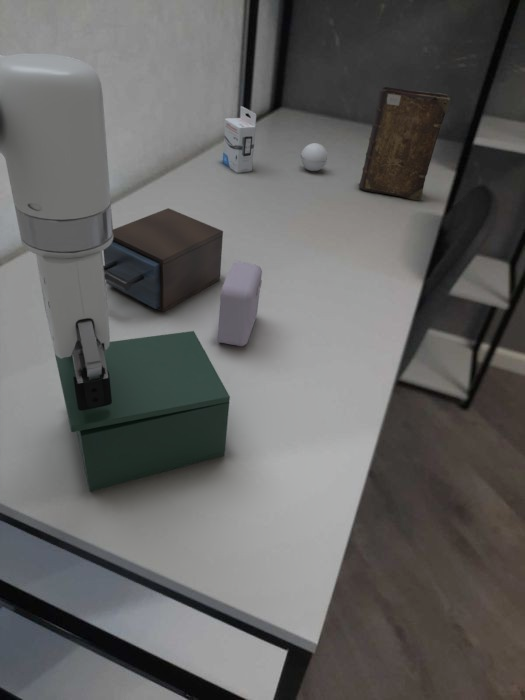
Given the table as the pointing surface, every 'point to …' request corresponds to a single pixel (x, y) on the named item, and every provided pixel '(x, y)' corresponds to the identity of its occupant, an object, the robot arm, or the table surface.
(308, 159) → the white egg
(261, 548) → the table surface
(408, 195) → the book
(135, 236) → the cabinet
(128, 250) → the drawer
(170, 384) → the chest lid
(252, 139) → the ink box
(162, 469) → the chest
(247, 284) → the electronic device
